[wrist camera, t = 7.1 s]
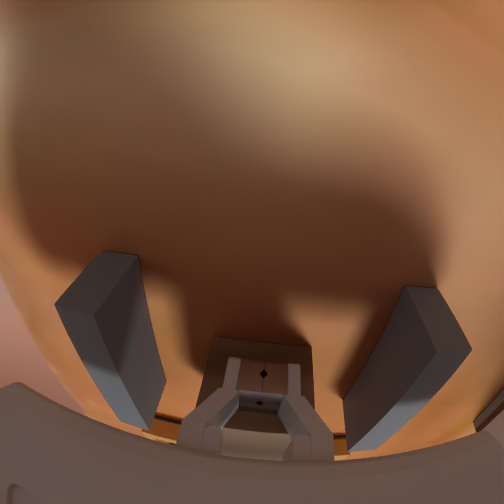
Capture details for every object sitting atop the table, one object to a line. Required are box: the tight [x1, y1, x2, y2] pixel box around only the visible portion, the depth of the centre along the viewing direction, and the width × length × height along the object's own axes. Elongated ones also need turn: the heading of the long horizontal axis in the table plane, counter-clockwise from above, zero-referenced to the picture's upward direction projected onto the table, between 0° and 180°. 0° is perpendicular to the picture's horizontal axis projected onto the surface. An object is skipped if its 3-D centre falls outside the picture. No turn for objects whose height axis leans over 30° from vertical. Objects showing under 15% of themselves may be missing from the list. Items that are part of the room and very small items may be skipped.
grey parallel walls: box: [55, 251, 472, 452], centre depth 12 cm, size 10×16×4 cm, turn 86°
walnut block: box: [196, 336, 315, 461], centre depth 13 cm, size 5×5×5 cm
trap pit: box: [142, 416, 350, 461], centre depth 21 cm, size 8×18×2 cm, turn 86°
